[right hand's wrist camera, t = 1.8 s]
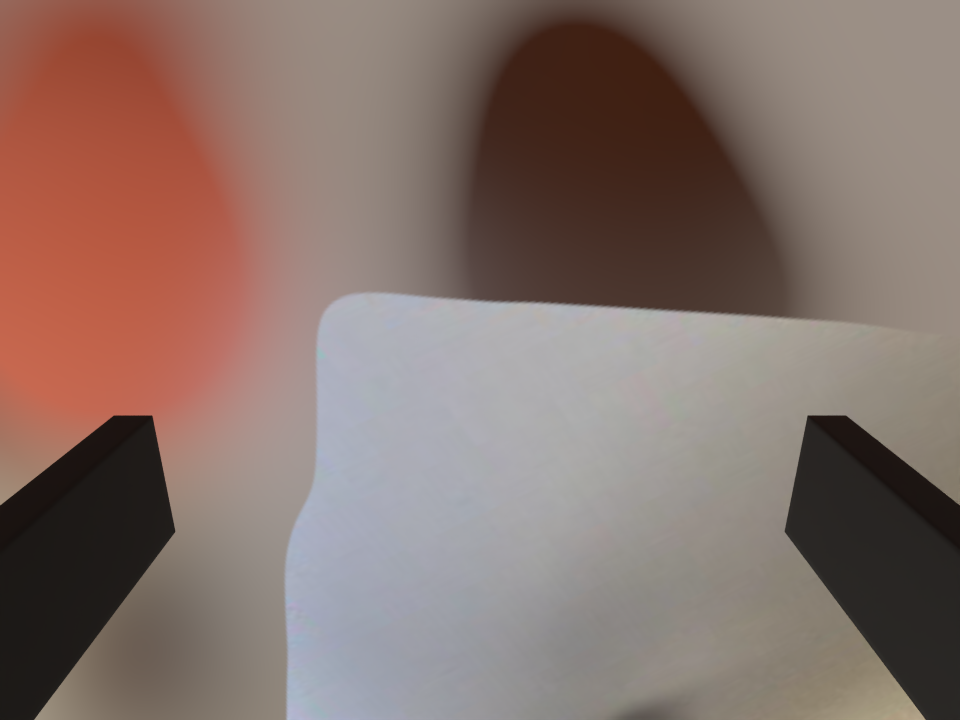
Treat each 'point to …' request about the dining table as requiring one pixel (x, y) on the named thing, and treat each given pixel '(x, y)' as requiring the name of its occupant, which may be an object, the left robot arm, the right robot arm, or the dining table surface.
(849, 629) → the dining table surface
